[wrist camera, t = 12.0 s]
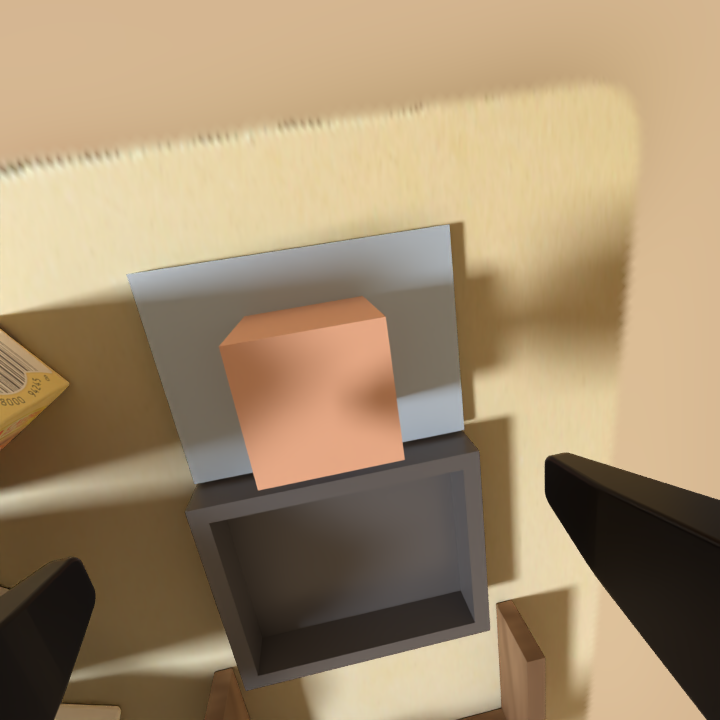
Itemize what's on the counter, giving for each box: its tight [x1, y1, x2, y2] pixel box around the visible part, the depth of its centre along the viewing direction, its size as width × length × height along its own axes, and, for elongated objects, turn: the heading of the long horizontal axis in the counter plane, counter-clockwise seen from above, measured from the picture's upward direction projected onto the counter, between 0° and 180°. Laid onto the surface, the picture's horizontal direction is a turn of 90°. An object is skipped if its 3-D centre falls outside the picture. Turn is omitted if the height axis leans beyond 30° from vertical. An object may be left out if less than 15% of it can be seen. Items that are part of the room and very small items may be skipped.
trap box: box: [185, 430, 490, 691], centre depth 20 cm, size 13×11×2 cm
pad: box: [127, 224, 464, 484], centre depth 17 cm, size 13×10×1 cm
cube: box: [219, 296, 405, 491], centre depth 15 cm, size 5×5×5 cm
